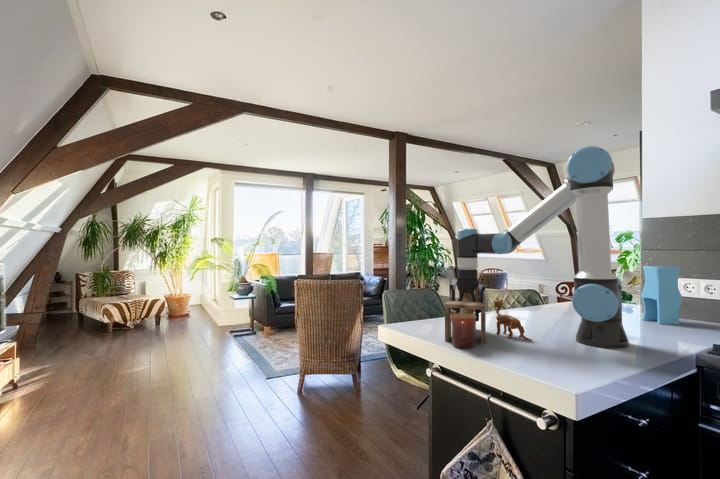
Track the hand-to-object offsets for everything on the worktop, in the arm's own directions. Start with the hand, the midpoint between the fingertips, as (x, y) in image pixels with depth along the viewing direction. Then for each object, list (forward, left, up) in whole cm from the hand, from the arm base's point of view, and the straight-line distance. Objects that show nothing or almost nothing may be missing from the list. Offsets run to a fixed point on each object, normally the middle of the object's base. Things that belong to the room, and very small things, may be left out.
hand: (467, 328), depth 140 cm
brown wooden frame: (0, +11, -2) cm, 11 cm away
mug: (0, +21, -2) cm, 21 cm away
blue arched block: (-77, -48, -2) cm, 91 cm away
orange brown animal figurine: (-16, +1, -2) cm, 16 cm away
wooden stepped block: (0, +3, -2) cm, 3 cm away
